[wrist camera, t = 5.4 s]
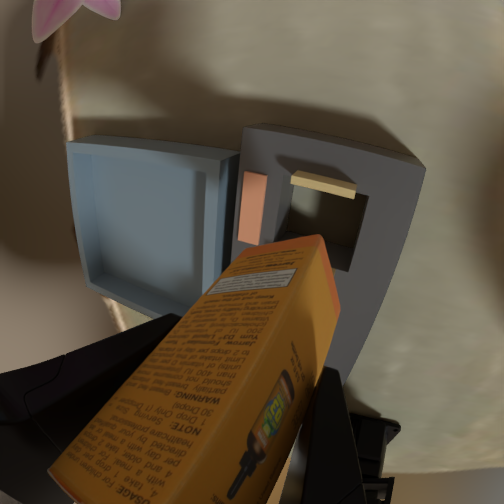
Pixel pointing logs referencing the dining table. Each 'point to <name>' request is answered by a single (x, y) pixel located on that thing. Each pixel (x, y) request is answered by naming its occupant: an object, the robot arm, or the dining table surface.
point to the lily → (66, 14)
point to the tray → (152, 218)
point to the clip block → (340, 183)
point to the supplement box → (215, 390)
